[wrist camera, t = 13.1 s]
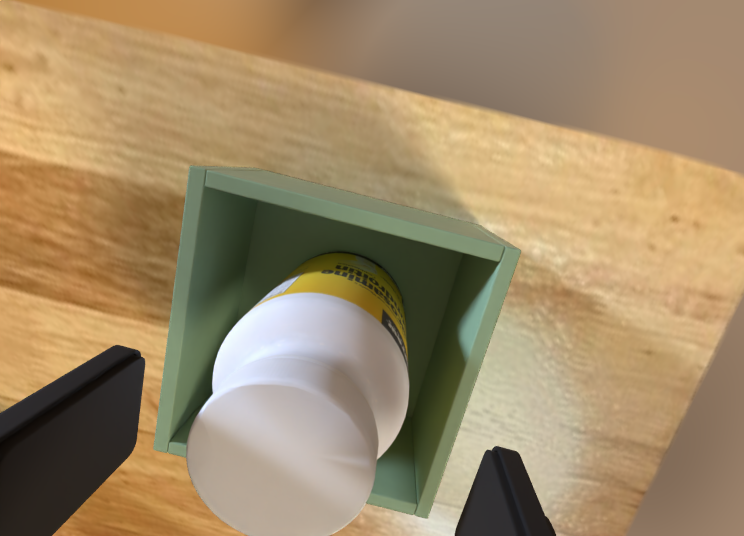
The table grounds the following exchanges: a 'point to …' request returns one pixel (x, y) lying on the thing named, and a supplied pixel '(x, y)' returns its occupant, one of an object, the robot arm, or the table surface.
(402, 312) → the pill bottle
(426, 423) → the tub
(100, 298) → the table surface
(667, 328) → the table surface
